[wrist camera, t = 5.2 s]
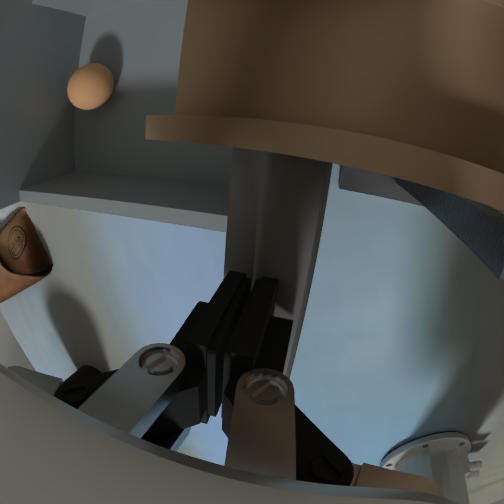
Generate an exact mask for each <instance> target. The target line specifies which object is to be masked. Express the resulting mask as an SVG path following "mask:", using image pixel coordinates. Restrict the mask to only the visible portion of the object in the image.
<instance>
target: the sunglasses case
mask: <svg viewBox="0 0 504 504" xmlns="http://www.w3.org/2000/svg"><path fill="white" fill-rule="evenodd" d="M52 267H53V264H52V263H51V261H50V259H49V257H48V255H47V253H46V251H45V249H44V247H43V245H42V243H41V241H40V239H39V237H38V235H37V233H36V231H35V229H34V227H33V225H32V222H31V220H30V218H29V217H28V214H27V212H26V209H25V207H23V208H21V209H20V210H19V211H18V212H17V213H16V214H15V215H14V216H13V218H12V219H11V220H10V221H9V222H8V223H7V224H6V226H5V227H4V228H3V229H2V230H1V231H0V303H1V302H3V301H5V300H7V299H9V298H10V297H12V296H14V295H16V294H17V293H19V292H21V291H23V290H24V289H26V288H28V287H30V286H31V285H33V284H35V283H37V282H38V281H40V280H41V279H43V278H45V277H46V276H47V275H48V274H50V272H51V270H52Z"/></svg>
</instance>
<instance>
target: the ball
mask: <svg viewBox="0 0 504 504" xmlns="http://www.w3.org/2000/svg"><path fill="white" fill-rule="evenodd" d="M113 88H114V78H113V75H112V73H111V71H110V70H109V69H108V68H107V67H106V66H104V65H102V64H98V63H90V64H86V65H83V66H82V67H80V68H78V69H77V70H76V71H75V72H74V73H73V74H72V76H71V78H70V80H69V82H68V86H67V93H68V97H69V99H70V101H71V103H72V104H73V105H74V106H76V107H77V108H80V109H84V110H91V109H95V108H98V107H100V106H101V105H103V104H104V103H105V102H106V101H107V100H108V99H109V98H110V96H111V94H112V92H113Z"/></svg>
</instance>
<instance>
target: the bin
mask: <svg viewBox="0 0 504 504" xmlns="http://www.w3.org/2000/svg"><path fill="white" fill-rule="evenodd" d="M187 4H188V0H0V209H2V208H5V207H7V206H9V205H12V204H14V203H17V202H19V201H23V202H30V203H37V204H44V205H52V206H59V207H66V208H72V209H79V210H86V211H93V212H100V213H107V214H113V215H120V216H126V217H133V218H139V219H146V220H152V221H159V222H165V223H172V224H178V225H184V226H190V227H197V228H203V229H209V230H215V231H221V232H227V218H228V204H229V190H230V177H231V164H232V152H233V147H229V146H221V145H212V144H202V143H191V142H179V141H166V140H150V139H145V133H146V115H175V109H176V96H177V85H178V74H179V65H180V56H181V47H182V39H183V31H184V24H185V17H186V10H187ZM90 63H98V64H102V65H104V66H106V67H107V68H108V69H109V70H110V71H111V73H112V75H113V78H114V88H113V92H112V94H111V96H110V98H109V99H108V100H107V101H106V102H105V103H104V104H103V105H101V106H100V107H98V108H95V109H91V110H84V109H80V108H77V107H76V106H74V105H73V104H72V103H71V101H70V99H69V97H68V93H67V86H68V82H69V80H70V78H71V76H72V74H73V73H74V72H75V71H76V70H77V69H78V68H80V67H82V66H83V65H86V64H90Z"/></svg>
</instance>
